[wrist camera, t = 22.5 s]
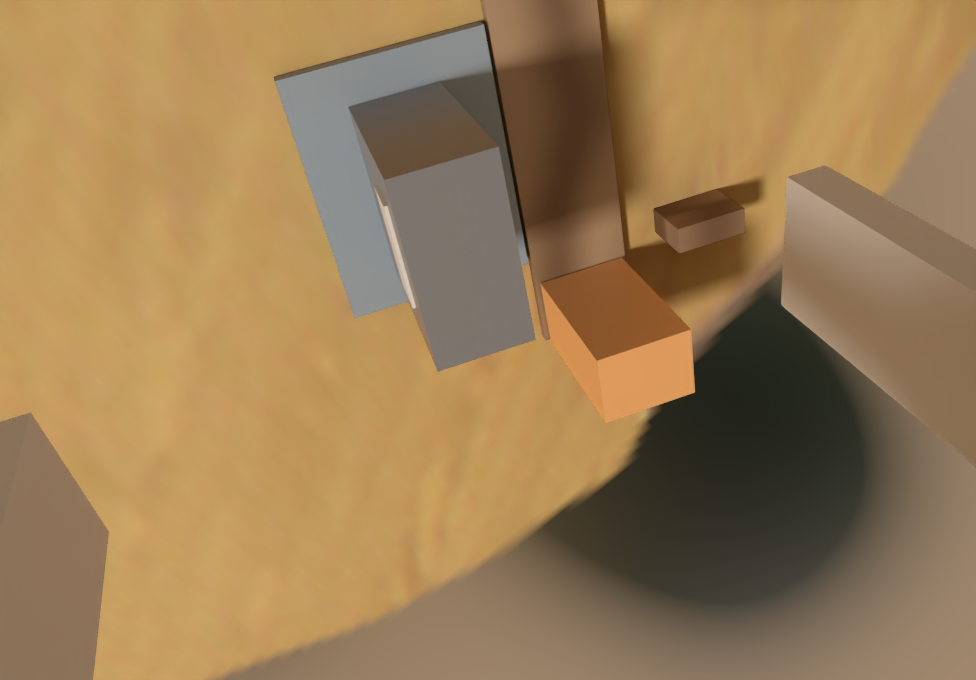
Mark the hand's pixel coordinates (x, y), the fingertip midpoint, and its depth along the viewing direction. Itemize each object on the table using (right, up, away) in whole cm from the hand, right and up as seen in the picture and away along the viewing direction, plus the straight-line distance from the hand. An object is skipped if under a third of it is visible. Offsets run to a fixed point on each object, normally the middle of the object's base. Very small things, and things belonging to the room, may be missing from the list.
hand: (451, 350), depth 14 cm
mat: (-3, +9, +28) cm, 29 cm away
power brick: (-3, +8, +27) cm, 29 cm away
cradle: (+7, +12, +30) cm, 33 cm away
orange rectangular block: (+6, +3, +34) cm, 35 cm away
